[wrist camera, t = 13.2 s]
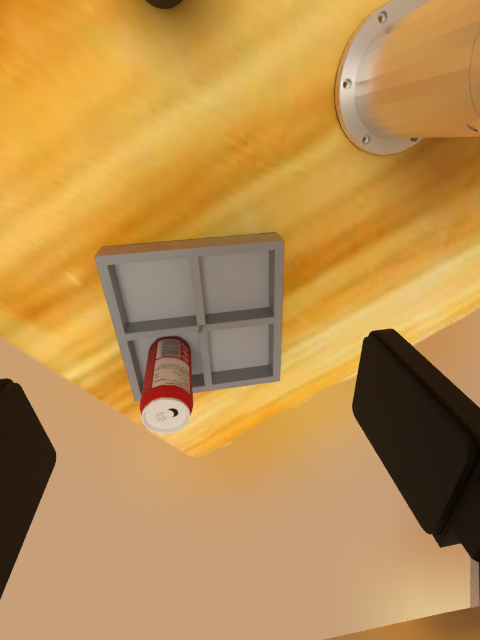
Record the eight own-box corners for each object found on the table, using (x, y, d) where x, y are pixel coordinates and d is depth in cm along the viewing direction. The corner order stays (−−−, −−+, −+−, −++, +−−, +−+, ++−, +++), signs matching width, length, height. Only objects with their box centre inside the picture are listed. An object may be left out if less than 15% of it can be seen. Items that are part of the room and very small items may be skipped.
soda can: (158, 372, 44) (151, 444, 34) (141, 342, 41) (128, 409, 31) (196, 360, 44) (200, 427, 34) (182, 329, 41) (182, 391, 31)
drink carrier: (275, 232, 38) (284, 240, 35) (273, 365, 48) (280, 381, 45) (101, 246, 35) (94, 256, 32) (137, 383, 45) (134, 401, 42)
